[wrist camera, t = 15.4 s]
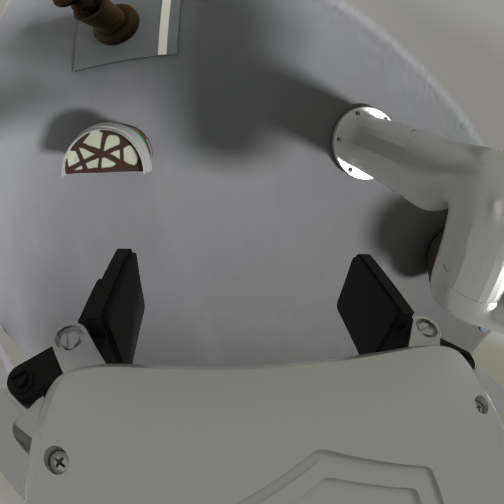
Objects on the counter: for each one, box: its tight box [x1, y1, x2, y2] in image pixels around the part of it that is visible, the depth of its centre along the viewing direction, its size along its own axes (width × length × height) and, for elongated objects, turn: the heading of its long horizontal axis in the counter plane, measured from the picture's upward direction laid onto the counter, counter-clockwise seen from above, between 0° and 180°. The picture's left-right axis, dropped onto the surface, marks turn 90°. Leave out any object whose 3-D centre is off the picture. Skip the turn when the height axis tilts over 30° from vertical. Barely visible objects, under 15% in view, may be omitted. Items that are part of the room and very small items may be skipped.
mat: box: [73, 0, 182, 72], centre depth 25 cm, size 16×12×1 cm
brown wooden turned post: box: [53, 0, 140, 46], centre depth 17 cm, size 7×6×18 cm
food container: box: [62, 122, 152, 177], centre depth 30 cm, size 12×6×10 cm, turn 83°
